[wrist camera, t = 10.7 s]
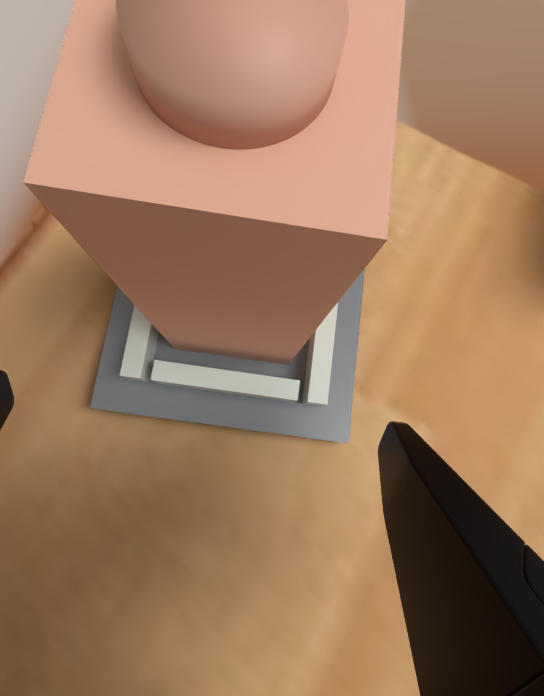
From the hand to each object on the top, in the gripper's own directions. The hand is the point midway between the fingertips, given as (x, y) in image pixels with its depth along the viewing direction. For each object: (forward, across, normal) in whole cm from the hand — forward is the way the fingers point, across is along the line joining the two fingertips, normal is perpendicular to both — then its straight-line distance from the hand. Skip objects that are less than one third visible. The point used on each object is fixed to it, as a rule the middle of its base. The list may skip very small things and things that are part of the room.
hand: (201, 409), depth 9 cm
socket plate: (+10, 0, +2) cm, 10 cm away
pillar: (+9, 0, +2) cm, 9 cm away
